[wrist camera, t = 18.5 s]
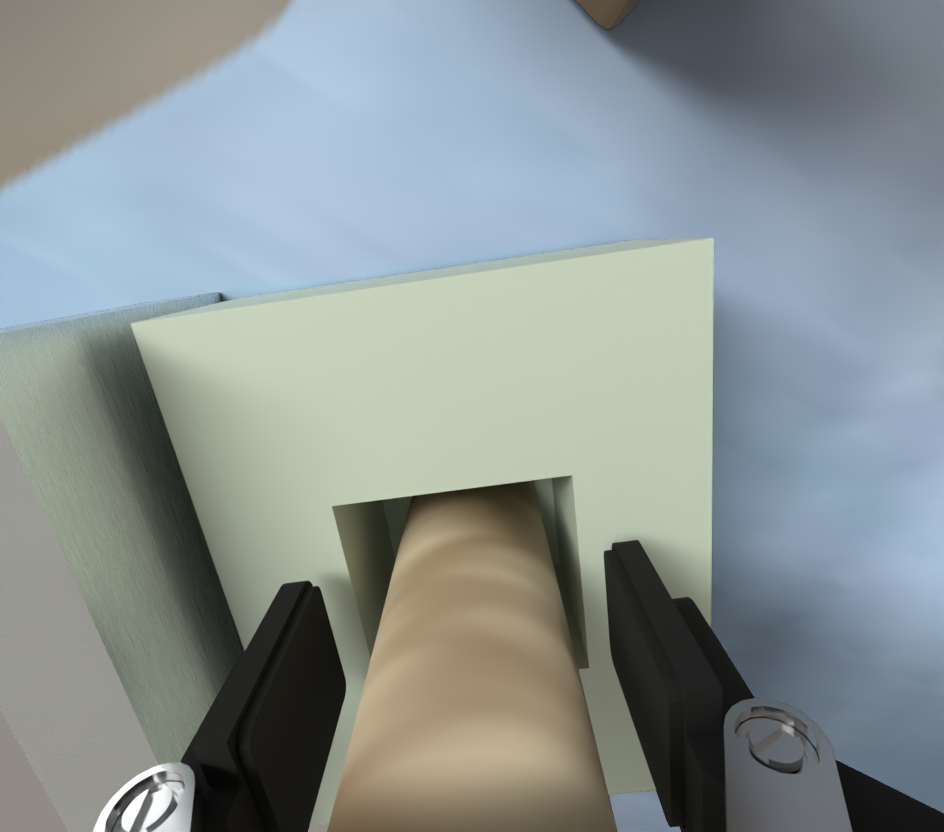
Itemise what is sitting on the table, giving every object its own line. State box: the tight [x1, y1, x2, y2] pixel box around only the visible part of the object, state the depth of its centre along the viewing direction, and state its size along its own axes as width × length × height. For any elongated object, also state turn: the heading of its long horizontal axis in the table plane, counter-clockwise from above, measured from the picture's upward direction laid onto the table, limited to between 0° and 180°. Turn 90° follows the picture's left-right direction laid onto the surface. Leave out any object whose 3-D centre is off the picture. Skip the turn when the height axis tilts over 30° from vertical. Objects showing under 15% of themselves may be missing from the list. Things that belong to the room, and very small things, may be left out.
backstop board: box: [0, 292, 244, 832], centre depth 14 cm, size 2×15×8 cm, turn 8°
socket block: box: [130, 238, 714, 826], centre depth 15 cm, size 12×14×5 cm
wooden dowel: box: [327, 480, 617, 832], centre depth 12 cm, size 4×4×10 cm
